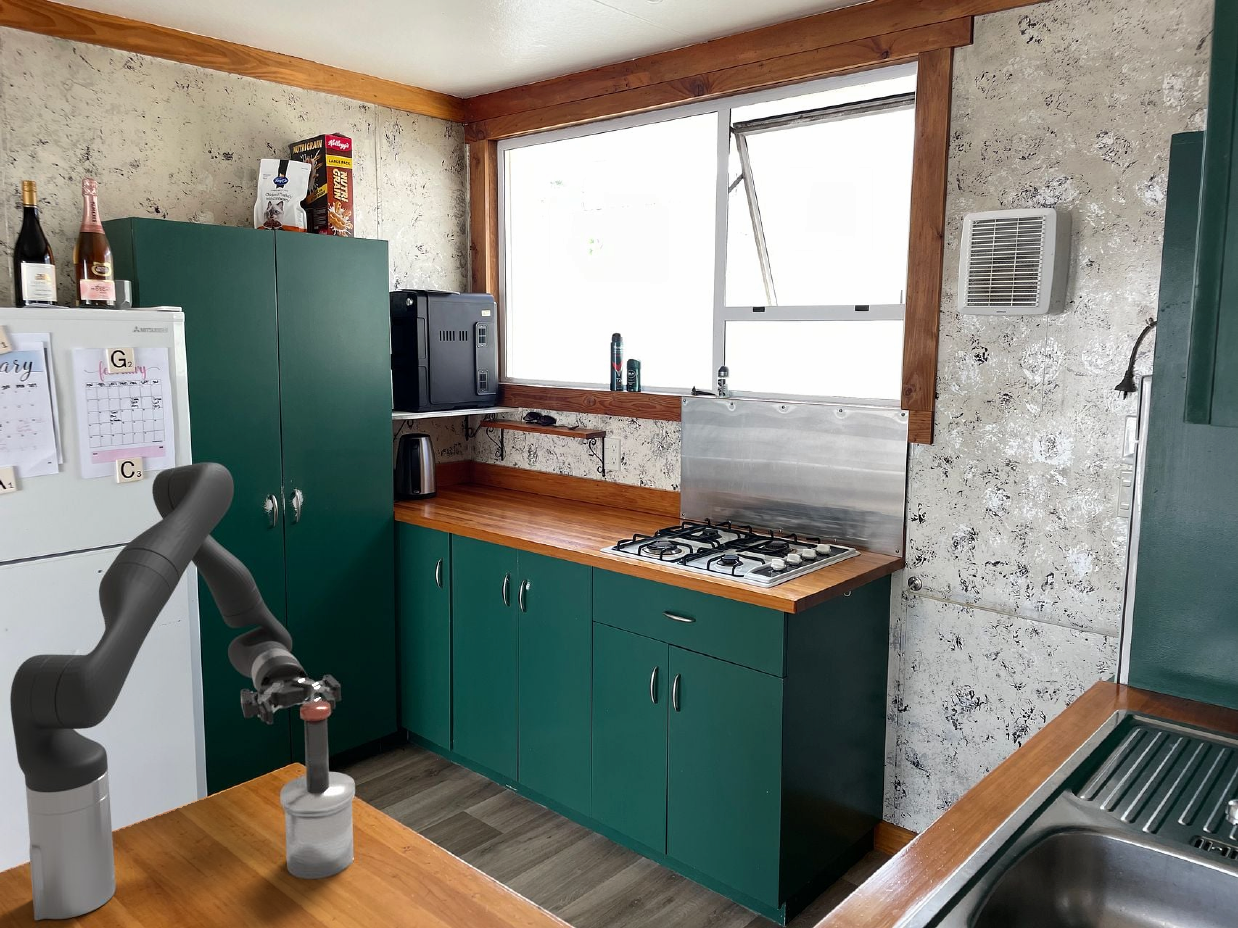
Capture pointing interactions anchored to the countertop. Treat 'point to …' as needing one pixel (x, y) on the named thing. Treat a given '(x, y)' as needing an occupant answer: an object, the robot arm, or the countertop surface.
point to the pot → (319, 842)
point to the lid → (317, 769)
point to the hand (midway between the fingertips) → (300, 712)
